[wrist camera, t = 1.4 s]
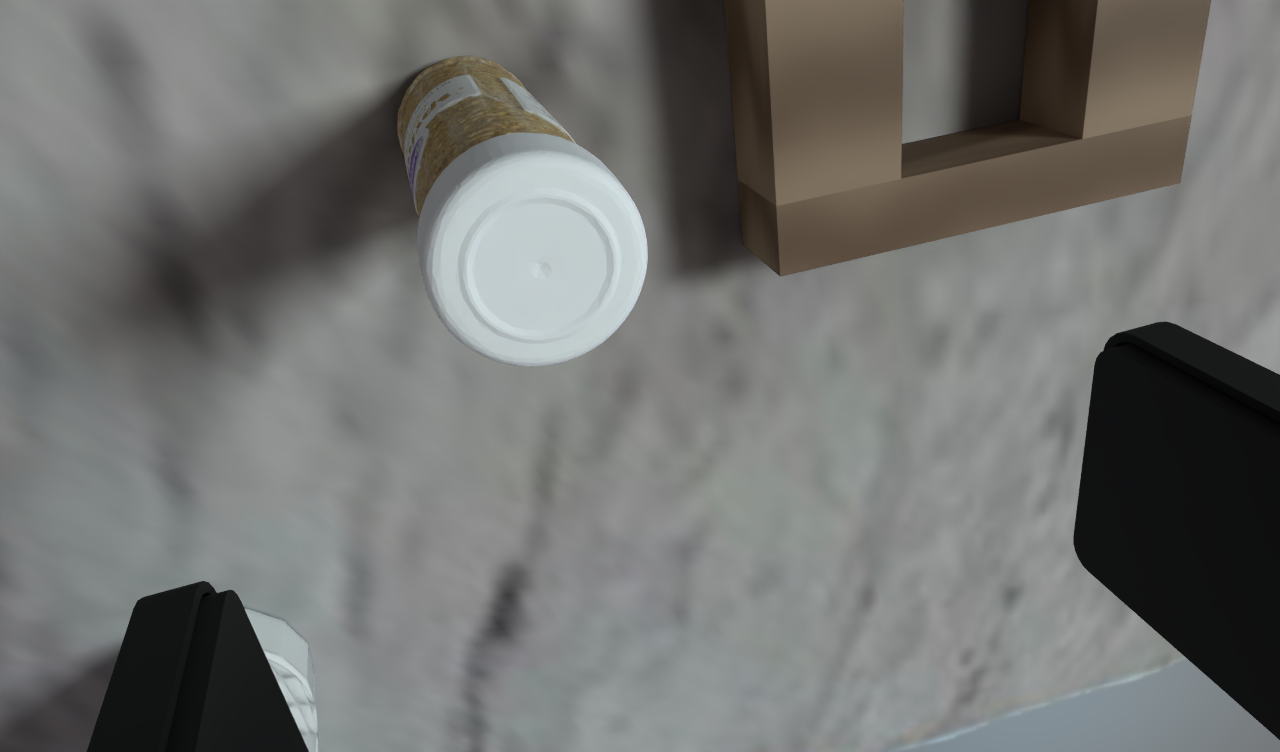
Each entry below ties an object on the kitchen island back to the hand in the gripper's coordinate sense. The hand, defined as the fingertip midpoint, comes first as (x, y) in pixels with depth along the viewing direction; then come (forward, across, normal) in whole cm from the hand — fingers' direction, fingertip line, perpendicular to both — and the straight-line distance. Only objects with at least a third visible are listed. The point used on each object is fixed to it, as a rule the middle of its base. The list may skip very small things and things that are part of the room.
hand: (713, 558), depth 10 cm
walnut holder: (+23, -17, 0) cm, 28 cm away
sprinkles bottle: (+23, 0, 0) cm, 23 cm away
